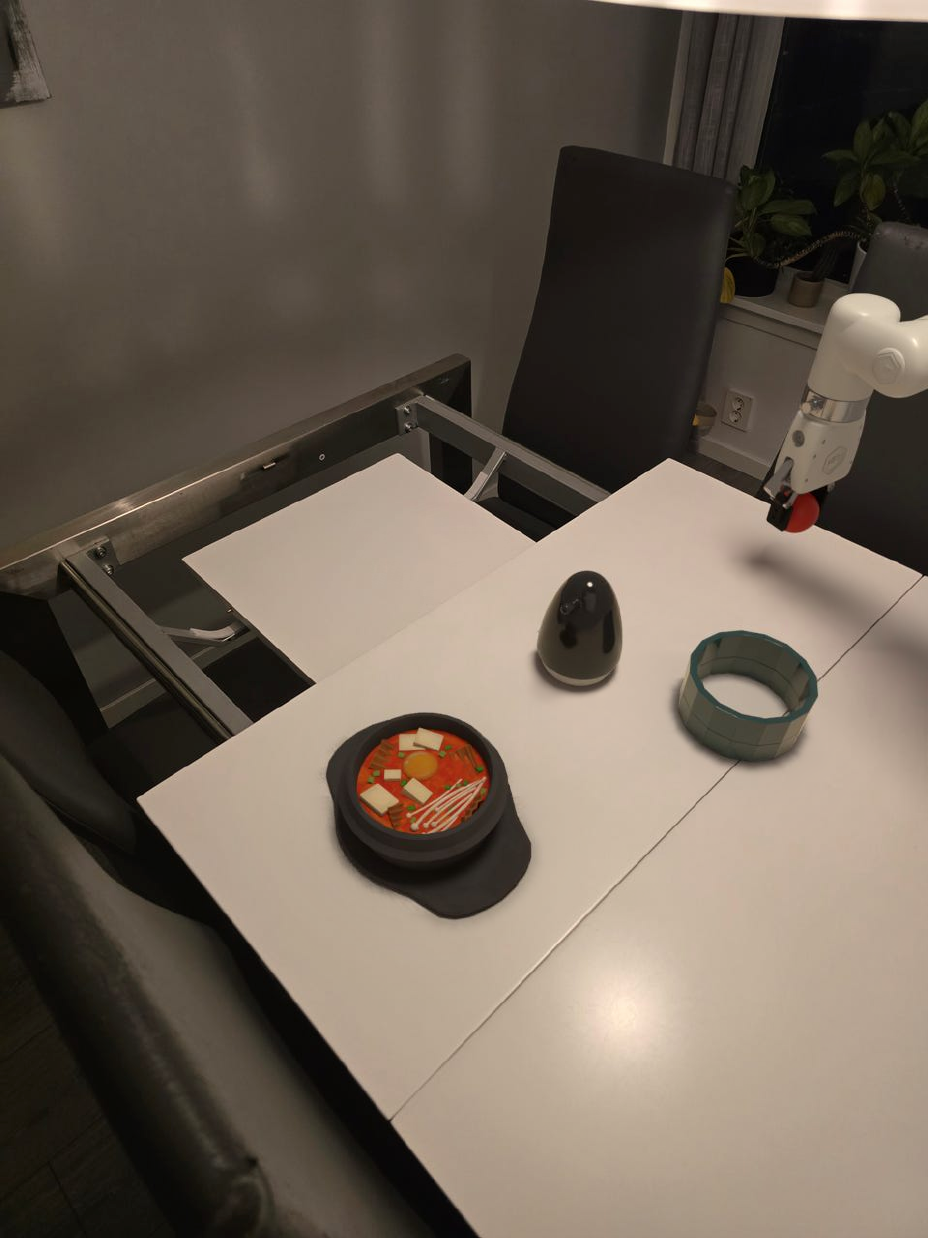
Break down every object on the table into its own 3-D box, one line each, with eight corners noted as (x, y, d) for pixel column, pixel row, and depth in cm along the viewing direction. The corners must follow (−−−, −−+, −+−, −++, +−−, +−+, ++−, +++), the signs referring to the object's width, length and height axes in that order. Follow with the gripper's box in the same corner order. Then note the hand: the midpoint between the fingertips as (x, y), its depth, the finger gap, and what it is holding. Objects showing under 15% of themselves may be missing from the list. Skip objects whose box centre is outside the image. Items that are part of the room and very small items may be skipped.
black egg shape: (518, 674, 97) (524, 583, 86) (562, 627, 103) (574, 536, 92) (589, 714, 92) (605, 623, 82) (631, 662, 98) (652, 570, 88)
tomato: (803, 515, 113) (818, 475, 108) (817, 541, 109) (833, 500, 104) (762, 515, 113) (775, 475, 108) (774, 541, 109) (788, 500, 104)
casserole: (572, 850, 80) (580, 805, 74) (426, 967, 71) (423, 926, 66) (425, 702, 94) (422, 654, 88) (288, 785, 85) (275, 738, 79)
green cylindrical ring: (736, 661, 99) (753, 615, 93) (821, 736, 90) (844, 691, 85) (652, 702, 94) (664, 657, 88) (733, 787, 85) (753, 742, 80)
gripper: (808, 432, 92) (768, 552, 104) (906, 396, 98) (856, 513, 110) (761, 405, 96) (728, 523, 109) (857, 372, 103) (815, 487, 115)
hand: (793, 517), depth 109 cm, fingers closed on tomato, 6 cm apart
